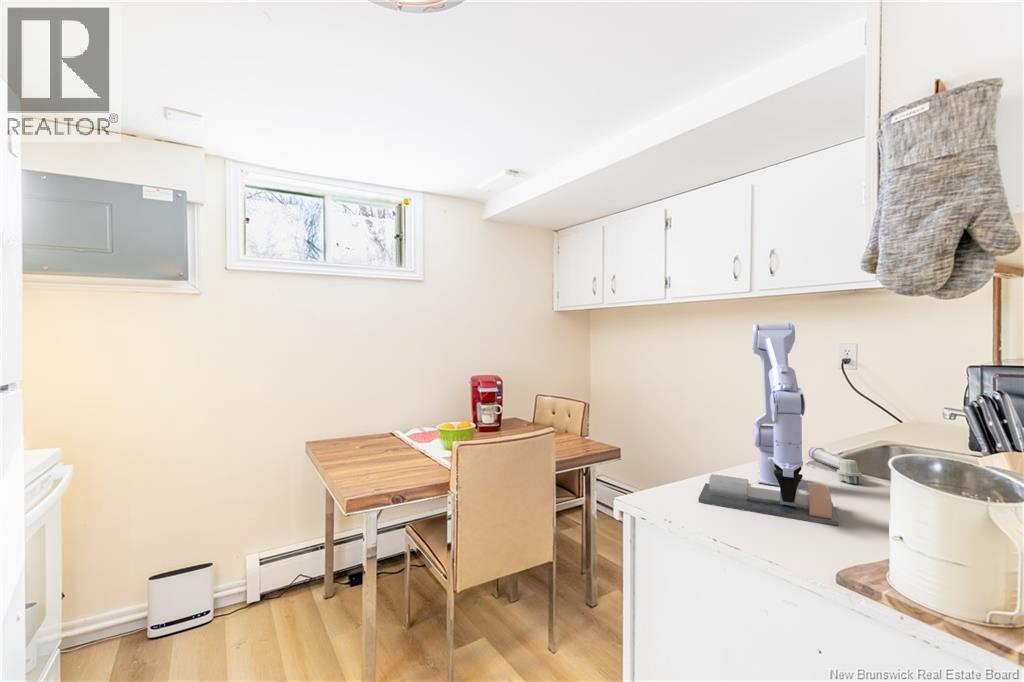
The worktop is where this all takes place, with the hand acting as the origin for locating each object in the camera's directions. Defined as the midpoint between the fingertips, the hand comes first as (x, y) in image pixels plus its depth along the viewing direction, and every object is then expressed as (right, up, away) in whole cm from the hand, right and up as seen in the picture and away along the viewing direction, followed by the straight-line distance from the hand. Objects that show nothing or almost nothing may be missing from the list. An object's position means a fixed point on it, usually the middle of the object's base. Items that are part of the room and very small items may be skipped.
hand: (788, 498), depth 104 cm
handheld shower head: (+30, -2, +26) cm, 39 cm away
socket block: (+5, -1, -3) cm, 6 cm away
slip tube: (-2, -1, +1) cm, 2 cm away
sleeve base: (-4, -2, +3) cm, 6 cm away
